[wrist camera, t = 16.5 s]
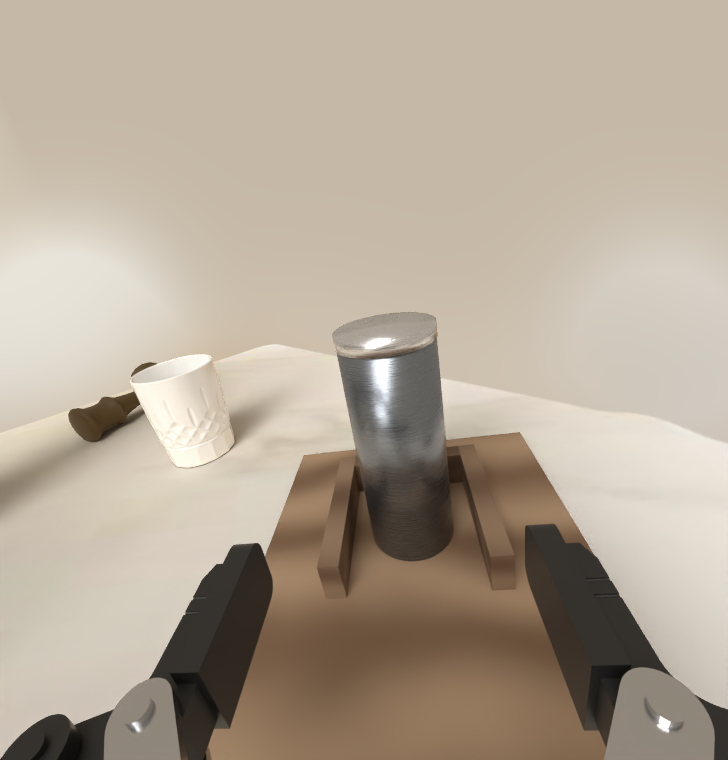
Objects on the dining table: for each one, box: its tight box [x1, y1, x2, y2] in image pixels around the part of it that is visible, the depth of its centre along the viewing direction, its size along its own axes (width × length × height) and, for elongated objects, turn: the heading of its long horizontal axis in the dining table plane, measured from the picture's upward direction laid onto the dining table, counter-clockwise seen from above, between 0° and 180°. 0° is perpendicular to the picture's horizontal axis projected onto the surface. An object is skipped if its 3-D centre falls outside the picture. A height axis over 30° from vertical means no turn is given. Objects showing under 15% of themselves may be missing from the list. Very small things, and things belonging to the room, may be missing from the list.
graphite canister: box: [332, 312, 454, 561], centre depth 22 cm, size 6×6×14 cm
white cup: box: [129, 354, 234, 468], centre depth 39 cm, size 8×8×10 cm
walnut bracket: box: [208, 432, 606, 760], centre depth 24 cm, size 22×20×3 cm
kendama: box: [68, 362, 157, 442], centre depth 56 cm, size 6×10×20 cm
